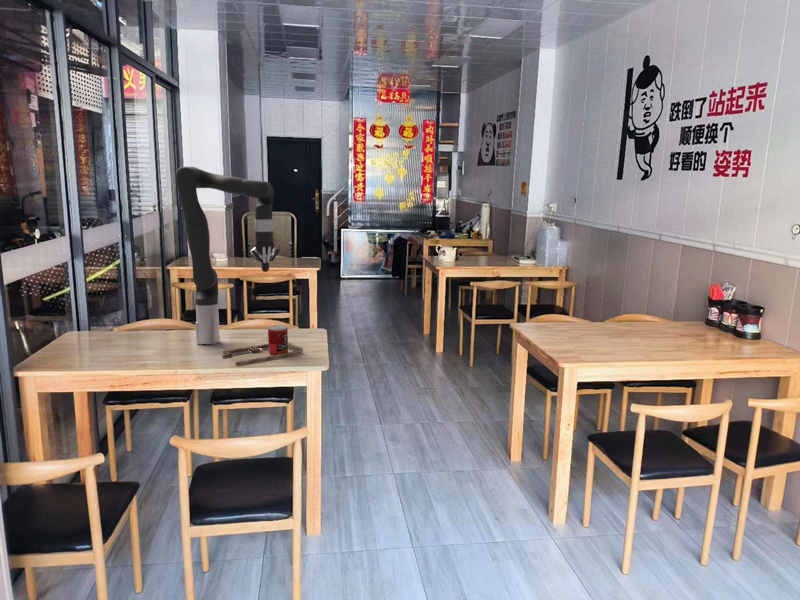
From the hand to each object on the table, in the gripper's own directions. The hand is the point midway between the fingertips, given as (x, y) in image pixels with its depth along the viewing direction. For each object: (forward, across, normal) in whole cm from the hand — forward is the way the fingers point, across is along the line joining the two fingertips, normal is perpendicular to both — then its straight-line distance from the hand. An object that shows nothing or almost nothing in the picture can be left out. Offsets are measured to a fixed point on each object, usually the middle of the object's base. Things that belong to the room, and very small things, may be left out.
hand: (265, 271), depth 253 cm
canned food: (+32, -2, -14) cm, 35 cm away
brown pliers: (+32, -9, -12) cm, 35 cm away
